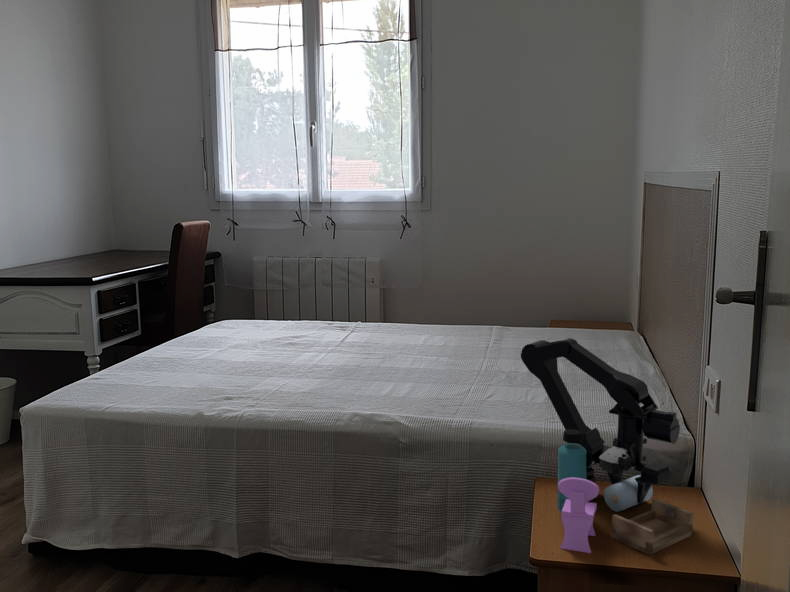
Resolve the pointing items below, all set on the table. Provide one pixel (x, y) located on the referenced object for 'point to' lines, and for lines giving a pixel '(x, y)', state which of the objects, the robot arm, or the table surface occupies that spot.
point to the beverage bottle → (571, 460)
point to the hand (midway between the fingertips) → (628, 498)
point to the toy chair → (578, 512)
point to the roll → (624, 494)
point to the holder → (653, 527)
